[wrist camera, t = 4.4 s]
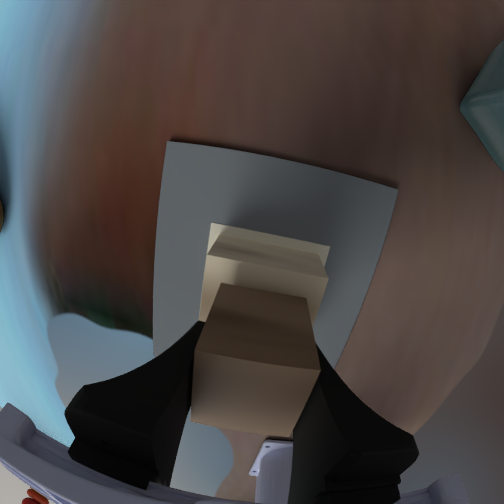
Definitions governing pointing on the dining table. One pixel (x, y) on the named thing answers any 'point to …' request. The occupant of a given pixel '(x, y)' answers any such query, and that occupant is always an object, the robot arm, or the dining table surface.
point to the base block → (263, 271)
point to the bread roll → (1, 215)
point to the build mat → (264, 231)
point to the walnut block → (254, 362)
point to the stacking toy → (35, 498)
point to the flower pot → (488, 105)
